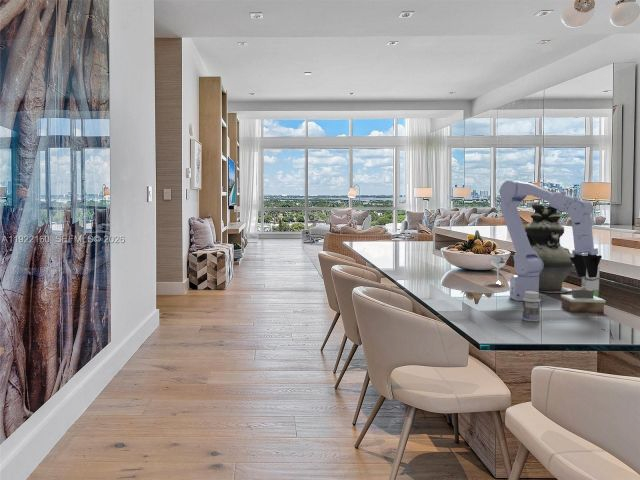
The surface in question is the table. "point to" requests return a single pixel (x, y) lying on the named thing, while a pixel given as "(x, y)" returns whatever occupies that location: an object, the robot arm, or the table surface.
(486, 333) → the table surface
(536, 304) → the pill bottle
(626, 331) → the table surface
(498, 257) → the wineglass
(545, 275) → the decorative urn
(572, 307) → the box
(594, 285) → the ink box
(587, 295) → the lid
